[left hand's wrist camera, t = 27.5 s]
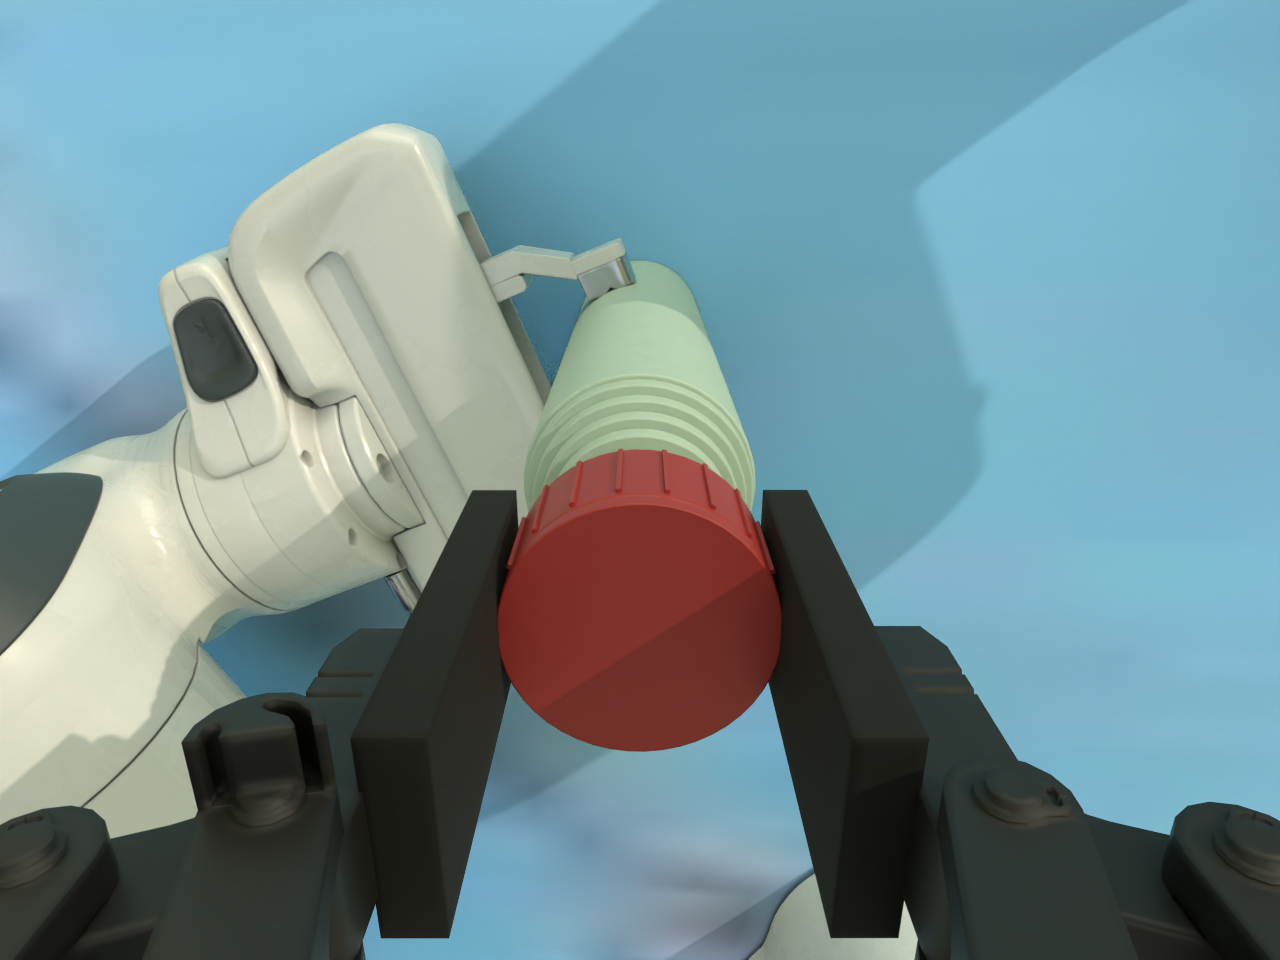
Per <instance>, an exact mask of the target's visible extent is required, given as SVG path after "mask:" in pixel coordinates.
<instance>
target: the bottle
mask: <svg viewBox="0 0 1280 960" xmlns="http://www.w3.org/2000/svg"><path fill="white" fill-rule="evenodd" d="M630 263H631V265H632V268H633V271H634V273H635V276H636V280H635V281H634V282H633V283H631V284H629V285H627V286H625V287H621V288H618V289H615V288H610V289H609V290H608V292H607V293H606V294H604V295H602V296H601V297H598V298H596V299H593V300H591V301H588V299H587V297H585V300H584V302H583V305H582V308H581V310H580V313H579V316H578V319H577V321H576V324H575V327H574V329H573V332H572V335H571V337H570V340H569V343H568V345H567V348H566V351H565V353H564V356H563V359H562V361H561V364H560V367H559V369H558V372H557V375H556V377H555V380H554V383H553V385H552V388H551V391H550V393H549V396H548V399H547V402H546V404H545V407H544V410H543V412H542V415H541V418H540V420H539V423H538V426H537V428H536V431H535V434H534V436H533V439H532V442H531V444H530V447H529V451H528V454H527V458H526V463H525V470H524V491H525V498H526V504H527V508H528V512H529V511H530V509H531V508H532V506H533V504H534V503H535V501H536V500H537V498H538V497H539V496H540V495H541V493H542V490H543V487H544V486H545V485H546V484H547V485H548V486H549V485H550V484H551V483H552V482H553V481H554V480H555V479H556V478H558V477H559V476H560V475H562V474H563V473H565V472H566V471H568V470H569V469H570V468H572V467H574V466H576V464H577V462H578V461H580V460H581V461H582V462H584V461H586V460H588V459H591V458H594V457H597V456H599V455H603V454H607V453H611V452H615V451H618V449H622V448H623V450H633V449H639V450H656V451H662V449H664V450H667V452H669V453H673V454H676V455H680V456H683V457H686V458H688V459H691V460H693V461H696V462H698V463H700V464H703V463H705V464H707V465H708V468H709V469H710V470H712V471H714V472H715V473H716V474H718V475H719V476H720V477H722V478H723V479H724V480H725V481H727V482H728V483H729V484H730V485H731V486H732V487H733V488H734V489H736V488H738V490H739V491H740V493H741V497H742V499H743V501H744V502H745V503H746V505H747V506H748V508H749V510H750V512H751V509H752V504H753V500H754V494H755V485H756V483H755V467H754V461H753V456H752V453H751V450H750V447H749V444H748V441H747V438H746V436H745V433H744V430H743V428H742V425H741V422H740V420H739V417H738V414H737V412H736V409H735V406H734V404H733V401H732V398H731V396H730V393H729V390H728V388H727V385H726V382H725V380H724V377H723V374H722V372H721V369H720V366H719V363H718V361H717V358H716V355H715V353H714V350H713V347H712V345H711V342H710V339H709V337H708V334H707V331H706V329H705V326H704V323H703V321H702V318H701V315H700V313H699V310H698V307H697V305H696V302H695V299H694V297H693V295H692V293H691V291H690V289H689V287H688V286H687V284H686V283H685V282H684V281H683V279H682V278H681V277H680V276H679V275H677V274H676V273H675V272H674V271H672V270H671V269H669V268H667V267H665V266H663V265H661V264H658V263H655V262H650V261H641V260H637V261H630Z"/></svg>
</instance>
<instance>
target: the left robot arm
mask: <svg viewBox="0 0 1280 960" xmlns="http://www.w3.org/2000/svg"><path fill="white" fill-rule="evenodd" d="M518 528H519V527H518V510H517V493H516V490H472V492H471V494H470V496H469V498H468V500H467V502H466V504H465V506H464V508H463V510H462V512H461V514H460V516H459V518H458V520H457V523H456V525H455V527H454V529H453V531H452V533H451V535H450V537H449V539H448V541H447V543H446V545H445V547H444V549H443V551H442V553H441V555H440V557H439V559H438V561H437V563H436V565H435V567H434V569H433V571H432V573H431V575H430V577H429V579H428V581H427V583H426V585H425V587H424V589H423V591H422V593H421V595H420V597H419V599H418V602H417V604H416V606H415V608H414V610H413V612H412V614H411V616H410V618H409V620H408V622H407V624H406V626H405V628H404V629H359V630H358V631H356V632H355V633H354V634H352V635H351V636H350V637H348V638H347V639H346V640H344V641H343V642H342V643H340V644H339V645H338V646H336V647H335V648H334V649H332V651H331V653H330V654H329V656H328V658H327V659H326V661H325V662H324V664H323V666H322V667H321V669H320V671H319V672H318V677H315V679H314V680H313V682H312V684H311V685H310V687H309V688H308V690H307V692H306V696H303V695H299V694H295V693H265V694H261V695H256V696H252V697H247V698H243V699H240V700H237V701H235V702H233V703H230V704H228V705H226V706H223V707H221V708H219V709H216V710H214V711H213V712H212V713H210V714H209V715H208V716H206V717H205V718H203V719H202V720H201V721H199V722H198V723H196V724H195V725H194V726H193V727H192V729H191V730H190V731H189V733H188V734H187V735H186V737H185V738H184V739H183V741H182V742H181V744H182V748H183V752H184V756H185V760H186V764H187V769H188V773H189V777H190V781H191V785H192V789H193V793H194V797H195V801H196V805H197V809H198V811H197V813H196V816H195V817H194V818H191V819H188V820H185V821H182V822H178V823H175V824H172V825H168V826H164V827H159V828H155V829H150V830H146V831H142V832H137V833H133V834H129V835H124V836H120V837H116V838H111V839H110V835H109V832H108V829H107V825H106V822H105V820H104V819H103V818H102V817H101V816H99V815H98V814H97V813H96V812H95V811H94V810H93V809H87V808H82V807H77V806H72V805H70V806H62V807H53V808H44V809H40V810H37V811H34V812H31V813H28V814H25V815H22V816H19V817H16V818H13V819H10V820H8V821H7V822H5V823H3V824H1V825H0V960H366V959H365V953H364V947H363V938H364V935H365V932H366V929H367V927H368V924H369V921H370V918H371V915H372V912H373V909H374V907H375V904H376V909H377V915H378V922H379V928H380V935H381V938H449V936H450V932H451V928H452V924H453V919H454V915H455V911H456V907H457V903H458V899H459V895H460V891H461V886H462V882H463V878H464V874H465V870H466V866H467V862H468V858H469V853H470V849H471V845H472V841H473V837H474V833H475V829H476V824H477V820H478V816H479V812H480V808H481V804H482V800H483V796H484V791H485V787H486V783H487V779H488V775H489V771H490V767H491V763H492V758H493V754H494V750H495V746H496V742H497V738H498V734H499V729H500V725H501V721H502V717H503V713H504V709H505V705H506V701H507V696H508V692H509V688H510V684H511V681H510V679H509V677H508V675H507V673H506V671H505V668H504V666H503V663H502V660H501V657H500V645H499V631H498V613H497V610H498V604H499V601H500V597H501V593H502V589H503V586H504V583H505V580H506V577H507V574H508V570H509V569H507V568H506V566H507V562H508V559H509V556H510V553H511V550H512V547H513V544H514V541H515V538H516V535H517V531H518ZM761 529H762V532H763V535H764V538H765V541H766V544H767V547H768V550H769V553H770V557H771V560H772V563H773V566H774V569H775V572H776V573H775V574H772V575H773V578H774V582H775V585H776V588H777V591H778V594H779V598H780V603H781V608H782V623H781V637H780V650H779V658H778V662H777V664H776V667H775V669H774V672H773V674H772V676H771V678H770V680H769V681H768V682H769V686H770V690H771V694H772V699H773V703H774V707H775V711H776V715H777V719H778V723H779V727H780V732H781V736H782V740H783V744H784V748H785V752H786V756H787V761H788V765H789V769H790V773H791V777H792V781H793V785H794V789H795V794H796V798H797V802H798V806H799V810H800V814H801V818H802V823H803V827H804V831H805V835H806V839H807V843H808V847H809V851H810V856H811V860H812V864H813V868H814V872H815V876H816V880H817V884H818V889H819V893H820V897H821V901H822V905H823V909H824V913H825V918H826V922H827V926H828V930H829V934H830V938H899V931H900V925H901V918H902V912H903V905H904V901H905V904H906V907H907V910H908V913H909V915H910V918H911V921H912V924H913V927H914V930H915V932H916V935H917V938H918V941H917V947H916V953H915V959H914V960H1280V821H1279V820H1277V819H1275V818H1273V817H1271V816H1269V815H1267V814H1264V813H1260V812H1258V811H1254V810H1251V809H1248V808H1245V807H1242V806H1239V805H1233V804H1224V803H1215V802H1206V803H1201V804H1195V805H1190V806H1187V807H1186V808H1185V809H1184V810H1183V811H1181V812H1180V813H1179V814H1178V815H1177V816H1176V817H1175V820H1174V823H1173V826H1172V830H1171V833H1170V835H1166V834H1162V833H1157V832H1153V831H1149V830H1144V829H1140V828H1136V827H1131V826H1127V825H1122V824H1118V823H1114V822H1110V821H1106V820H1103V819H1100V818H1096V817H1093V816H1090V815H1087V814H1085V813H1084V812H1083V809H1082V808H1081V806H1080V805H1079V803H1078V802H1077V800H1076V799H1075V797H1074V795H1073V794H1072V792H1071V791H1070V790H1069V789H1068V788H1066V787H1065V786H1064V785H1063V784H1062V783H1060V782H1059V781H1058V780H1057V779H1055V778H1054V777H1053V776H1052V775H1050V774H1048V773H1046V772H1044V771H1042V770H1040V769H1038V768H1036V767H1034V766H1032V765H1030V764H1028V763H1026V762H1022V761H1018V760H1017V758H1016V757H1015V755H1014V753H1013V752H1012V750H1011V749H1010V747H1009V745H1008V744H1007V742H1006V740H1005V739H1004V737H1003V736H1002V734H1001V732H1000V731H999V729H998V728H997V726H996V724H995V723H994V721H993V720H992V718H991V716H990V715H989V713H988V712H987V710H986V708H985V707H984V705H983V703H982V702H981V700H980V699H979V697H978V695H977V694H974V689H973V687H972V686H971V684H970V683H969V681H968V679H967V678H966V676H965V675H962V670H961V668H960V666H959V665H958V663H957V662H956V660H955V658H954V657H953V655H952V654H951V652H950V650H949V649H948V647H947V646H946V645H945V644H943V643H942V642H940V641H939V640H938V639H936V638H935V637H934V636H932V635H931V634H930V633H928V632H927V631H926V630H924V629H923V628H922V627H920V626H874V625H873V623H872V621H871V619H870V617H869V615H868V613H867V611H866V609H865V607H864V605H863V603H862V601H861V599H860V597H859V595H858V593H857V591H856V588H855V586H854V584H853V582H852V580H851V578H850V576H849V574H848V572H847V570H846V568H845V566H844V564H843V562H842V560H841V558H840V556H839V554H838V552H837V550H836V548H835V546H834V544H833V542H832V540H831V538H830V536H829V534H828V532H827V530H826V528H825V526H824V524H823V522H822V520H821V518H820V516H819V513H818V511H817V509H816V507H815V505H814V503H813V501H812V499H811V497H810V495H809V493H808V491H807V490H763V501H762V518H761Z"/></svg>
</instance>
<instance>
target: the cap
mask: <svg viewBox="0 0 1280 960" xmlns="http://www.w3.org/2000/svg"><path fill="white" fill-rule="evenodd" d="M506 568H507V569H509V570H508V574H507V577H506V580H505V583H504V586H503V589H502V593H501V597H500V601H499V604H498V610H497V613H498V631H499V645H500V657H501V660H502V663H503V666H504V668H505V671H506V673H507V675H508V677H509V679H510V681H511V683H512V684H513V686H514V688H515V689H516V690H517V692H518V693H519V695H520V696H521V697H522V699H523V700H524V701H525V702H526V703H527V704H528V705H529V706H530V708H531V709H532V710H533V711H534V712H535V713H537V714H538V715H539V716H540V717H541V718H543V719H544V720H545V721H546V722H548V723H549V724H551V725H552V726H554V727H555V728H557V729H558V730H560V731H562V732H564V733H566V734H568V735H570V736H572V737H574V738H576V739H578V740H581V741H584V742H587V743H589V744H592V745H596V746H600V747H604V748H608V749H615V750H623V751H657V750H665V749H670V748H675V747H680V746H683V745H687V744H690V743H693V742H696V741H699V740H701V739H703V738H705V737H708V736H710V735H712V734H714V733H716V732H717V731H719V730H721V729H723V728H724V727H726V726H728V725H729V724H730V723H732V722H733V721H734V720H736V719H737V718H738V717H739V716H741V715H742V714H743V713H744V712H745V711H746V710H747V709H748V708H749V707H750V706H751V705H752V704H753V703H754V702H755V700H756V699H757V698H758V697H759V695H760V694H761V693H762V691H763V690H764V688H765V687H766V685H767V683H768V681H769V680H770V678H771V676H772V674H773V672H774V669H775V667H776V664H777V662H778V658H779V650H780V637H781V623H782V608H781V603H780V598H779V594H778V591H777V588H776V585H775V582H774V578H773V575H772V574H775V573H776V572H775V569H774V566H773V563H772V560H771V557H770V553H769V550H768V547H767V544H766V541H765V538H764V535H763V532H762V529H761V526H760V523H759V521H758V522H755V520H754V518H753V516H752V514H751V512H750V510H749V508H748V506H747V505H746V503H745V502H744V501H743V499H742V497H741V493H740V491H739V490H738V488H736V489H734V488H733V487H732V486H731V485H730V484H729V483H728V482H727V481H725V480H724V479H723V478H722V477H720V476H719V475H718V474H716V473H715V472H714V471H712V470H710V469H709V468H708V465H707V464H705V463H703V464H700V463H698V462H696V461H693V460H691V459H688V458H686V457H683V456H680V455H676V454H673V453H669V452H667V450H664V449H662V451H656V450H639V449H633V450H623V448H622V449H618V451H615V452H611V453H607V454H603V455H599V456H597V457H594V458H591V459H588V460H586V461H584V462H582V461H581V460H580V461H578V462H577V464H576V466H574V467H572V468H570V469H569V470H568V471H566V472H565V473H563V474H562V475H560V476H559V477H558V478H556V479H555V480H554V481H553V482H552V483H551V484H550V485H549V486H548V485H547V484H546V485H545V486H544V487H543V490H542V493H541V495H540V496H539V497H538V498H537V500H536V501H535V503H534V504H533V506H532V508H531V509H530V511H529V512H528V515H527V517H526V518H525V517H522V519H521V522H520V525H519V528H518V531H517V535H516V538H515V541H514V544H513V547H512V550H511V553H510V556H509V559H508V562H507V566H506Z"/></svg>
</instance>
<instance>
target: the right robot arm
mask: <svg viewBox="0 0 1280 960" xmlns="http://www.w3.org/2000/svg"><path fill="white" fill-rule="evenodd" d="M532 274H533V275H541V276H549V277H557V278H565V279H573V280H578V279H579V281H580V283H581V285H582V288H583V290H584V292H585V294H586V297H587V299H588V301H591V300H593V299H596V298H598V297H601V296H602V295H604V294H606V293H607V292H608V290H609V289H610V288H615V289H618V288H621V287H625V286H627V285H629V284H631V283H633V282H634V281H635V280H636V276H635V273H634V271H633V268H632V265H631V263H630V260H629V257H628V255H627V252H626V250H625V247H624V245H623V242H622V240H621V238H618V239H614V240H611V241H609V242H607V243H604V244H602V245H600V246H597V247H595V248H592V249H590V250H588V251H585V252H583V253H581V254H578V255H576V256H575V255H574V253H572V252H565V251H558V250H551V249H544V248H537V247H531V246H524V245H518V246H516V247H514V248H511V249H509V250H507V251H504V252H502V253H500V254H497V255H495V256H493V257H492V255H491V253H490V251H489V249H488V247H487V245H486V242H485V240H484V238H483V236H482V234H481V231H480V229H479V227H478V225H477V223H476V221H475V218H474V216H473V214H472V212H471V210H470V207H469V205H468V203H467V201H466V199H465V197H464V194H463V192H462V190H461V188H460V186H459V183H458V181H457V179H456V177H455V175H454V172H453V170H452V168H451V166H450V164H449V162H448V159H447V157H446V155H445V153H444V151H443V148H442V146H441V144H440V142H439V141H438V140H437V139H436V138H435V137H434V136H433V135H431V134H429V133H426V132H424V131H421V130H419V129H417V128H414V127H411V126H408V125H404V124H400V123H388V124H382V125H378V126H375V127H373V128H371V129H368V130H366V131H364V132H362V133H360V134H357V135H355V136H353V137H351V138H349V139H348V140H346V141H344V142H342V143H340V144H338V145H336V146H335V147H333V148H331V149H329V150H328V151H326V152H324V153H322V154H321V155H319V156H317V157H316V158H314V159H312V160H311V161H309V162H308V163H306V164H304V165H303V166H301V167H300V168H298V169H297V170H295V171H293V172H292V173H290V174H289V175H288V176H286V177H285V178H283V179H282V180H280V181H279V182H278V183H276V184H275V185H273V186H272V187H271V188H269V189H268V190H267V191H265V192H264V193H262V194H261V195H260V196H259V197H258V198H256V199H255V200H254V201H253V202H252V203H251V204H250V205H249V206H248V207H247V208H246V209H245V210H244V211H243V212H242V214H241V215H240V216H239V218H238V219H237V221H236V223H235V225H234V227H233V229H232V231H231V234H230V238H229V243H228V247H224V248H220V249H217V250H213V251H210V252H207V253H205V254H202V255H200V256H197V257H195V258H193V259H191V260H188V261H187V262H185V263H183V264H181V265H179V266H178V267H176V268H174V269H173V270H171V271H170V272H168V273H166V274H165V275H164V276H163V277H162V279H161V281H160V283H159V301H160V306H161V310H162V314H163V317H164V320H165V324H166V327H167V331H168V334H169V338H170V341H171V345H172V348H173V352H174V356H175V359H176V363H177V367H178V371H179V374H180V378H181V383H182V387H183V391H184V395H185V400H186V404H187V407H186V408H185V409H183V410H182V411H180V412H179V413H178V414H177V415H175V416H174V417H173V418H172V419H171V420H170V421H169V422H168V423H167V424H166V425H165V426H163V427H162V428H160V429H158V430H157V431H154V432H152V433H148V434H143V435H131V436H123V437H118V438H113V439H109V440H107V441H104V442H101V443H99V444H97V445H94V446H92V447H90V448H87V449H85V450H83V451H80V452H78V453H76V454H73V455H71V456H69V457H67V458H64V459H62V460H60V461H58V462H56V463H54V464H52V465H50V466H48V467H46V468H44V469H42V470H40V471H38V472H36V473H34V474H28V475H17V476H14V477H11V478H8V479H6V480H3V481H1V482H0V825H1V824H3V823H5V822H7V821H8V820H10V819H13V818H16V817H19V816H22V815H25V814H28V813H31V812H34V811H37V810H40V809H44V808H53V807H62V806H70V805H72V806H77V807H82V808H87V809H93V810H94V811H95V812H96V813H97V814H98V815H99V816H101V817H102V818H103V819H104V820H105V822H106V825H107V829H108V832H109V835H110V839H111V838H116V837H120V836H124V835H129V834H133V833H137V832H142V831H146V830H150V829H155V828H159V827H164V826H168V825H172V824H175V823H178V822H182V821H185V820H188V819H191V818H194V817H195V816H196V813H197V811H198V809H197V805H196V801H195V797H194V793H193V789H192V785H191V781H190V777H189V773H188V769H187V764H186V760H185V756H184V752H183V748H182V744H181V742H182V741H183V739H184V738H185V737H186V735H187V734H188V733H189V731H190V730H191V729H192V727H193V726H194V725H195V724H196V723H198V722H199V721H201V720H202V719H203V718H205V717H206V716H208V715H209V714H210V713H212V712H213V711H214V710H216V709H219V708H221V707H223V706H226V705H228V704H230V703H233V702H235V701H237V700H240V699H243V698H247V696H246V695H245V694H244V693H243V692H242V691H241V690H240V688H239V687H238V686H237V685H236V684H235V683H234V682H233V681H232V680H231V678H230V677H229V676H228V675H227V674H226V673H225V672H224V671H223V670H222V668H221V667H220V666H219V665H218V664H217V663H216V662H215V661H214V660H213V658H212V657H211V656H210V655H209V654H208V653H207V652H206V651H205V650H204V648H203V647H202V645H204V644H206V643H208V642H210V641H212V640H214V639H216V638H217V637H219V636H220V635H222V634H223V633H224V632H226V631H227V630H228V629H230V628H231V627H232V626H233V625H235V624H236V623H237V622H239V621H241V620H243V619H245V618H248V617H252V616H259V615H276V614H282V613H287V612H290V611H294V610H298V609H300V608H302V607H305V606H308V605H310V604H313V603H316V602H318V601H321V600H323V599H326V598H329V597H331V596H334V595H337V594H339V593H342V592H345V591H347V590H350V589H353V588H356V587H358V586H361V585H364V584H366V583H369V582H372V581H374V580H377V579H379V578H382V577H384V578H385V580H386V582H387V584H388V585H389V587H390V589H391V590H392V592H393V594H394V596H395V597H396V599H397V601H398V602H399V604H400V605H401V607H402V608H403V610H404V611H405V612H406V614H407V615H408V616H409V617H410V616H411V614H412V612H413V610H414V608H415V606H416V604H417V602H418V599H419V597H420V595H421V593H422V591H423V589H424V587H425V585H426V583H427V581H428V579H429V577H430V575H431V573H432V571H433V569H434V567H435V565H436V563H437V561H438V559H439V557H440V555H441V553H442V551H443V549H444V547H445V545H446V543H447V541H448V539H449V537H450V535H451V533H452V531H453V529H454V527H455V525H456V523H457V520H458V518H459V516H460V514H461V512H462V510H463V508H464V506H465V504H466V502H467V500H468V498H469V496H470V494H471V492H472V490H516V493H517V510H518V527H519V525H520V522H521V519H522V517H525V518H526V517H527V515H528V508H527V504H526V498H525V491H524V470H525V463H526V458H527V454H528V451H529V447H530V444H531V442H532V439H533V436H534V434H535V431H536V428H537V426H538V423H539V420H540V418H541V415H542V412H543V410H544V407H545V404H546V402H547V399H548V396H549V393H550V391H551V388H552V386H551V384H550V382H549V380H548V378H547V376H546V373H545V371H544V369H543V367H542V365H541V362H540V360H539V358H538V356H537V354H536V352H535V349H534V347H533V345H532V343H531V341H530V338H529V336H528V334H527V332H526V330H525V328H524V325H523V323H522V321H521V319H520V317H519V314H518V312H517V310H516V308H515V306H514V303H513V301H512V299H511V297H513V296H515V295H517V294H519V293H522V292H524V291H526V289H527V288H528V287H529V286H530V284H531V283H532V282H533V279H534V278H533V275H532ZM917 941H918V938H917V935H916V932H915V930H914V927H913V924H912V921H911V918H910V915H909V913H908V910H907V907H906V904H905V901H904V905H903V912H902V918H901V925H900V931H899V938H830V934H829V930H828V926H827V922H826V918H825V913H824V909H823V905H822V901H821V897H820V893H819V889H818V884H817V880H816V876H815V873H814V874H813V875H811V876H810V877H808V878H807V879H806V880H805V881H803V882H802V883H801V884H800V885H799V886H797V887H796V888H795V889H794V890H793V891H792V892H791V893H790V894H789V895H788V897H787V898H786V899H785V900H784V902H783V903H782V905H781V906H780V908H779V909H778V911H777V913H776V914H775V917H774V919H773V921H772V924H771V927H770V929H769V932H768V935H767V938H766V940H765V942H764V943H763V945H762V947H761V948H760V949H759V950H758V951H756V952H755V953H754V954H753V955H752V956H751V957H750V958H749V959H748V960H914V959H915V953H916V947H917Z"/></svg>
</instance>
